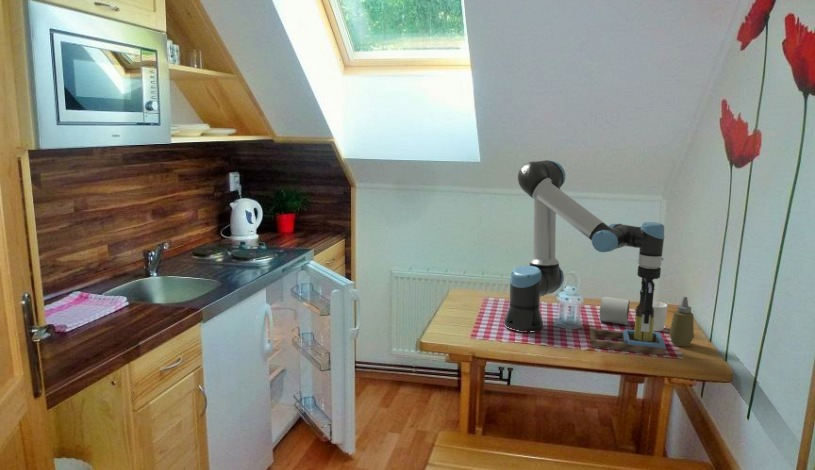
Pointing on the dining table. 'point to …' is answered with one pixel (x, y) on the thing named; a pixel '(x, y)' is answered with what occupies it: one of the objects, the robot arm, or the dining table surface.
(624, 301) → the toilet paper
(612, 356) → the dining table surface
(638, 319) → the sauce bottle
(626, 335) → the caddy
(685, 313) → the squeeze bottle
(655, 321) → the white cup
